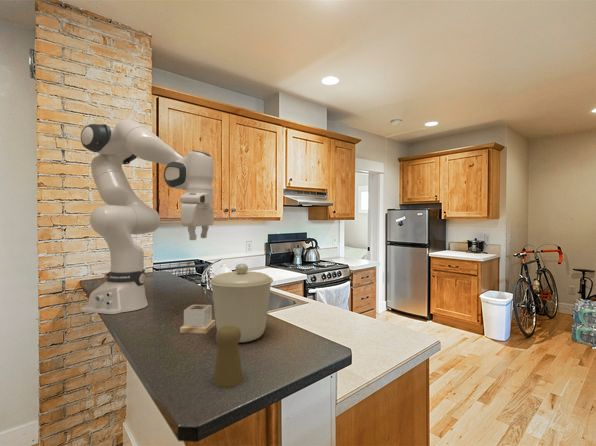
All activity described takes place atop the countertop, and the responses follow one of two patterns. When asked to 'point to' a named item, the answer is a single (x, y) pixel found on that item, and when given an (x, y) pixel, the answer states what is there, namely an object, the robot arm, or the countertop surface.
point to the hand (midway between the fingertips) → (198, 239)
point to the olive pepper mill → (228, 357)
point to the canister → (242, 301)
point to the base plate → (197, 328)
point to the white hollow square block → (197, 315)
